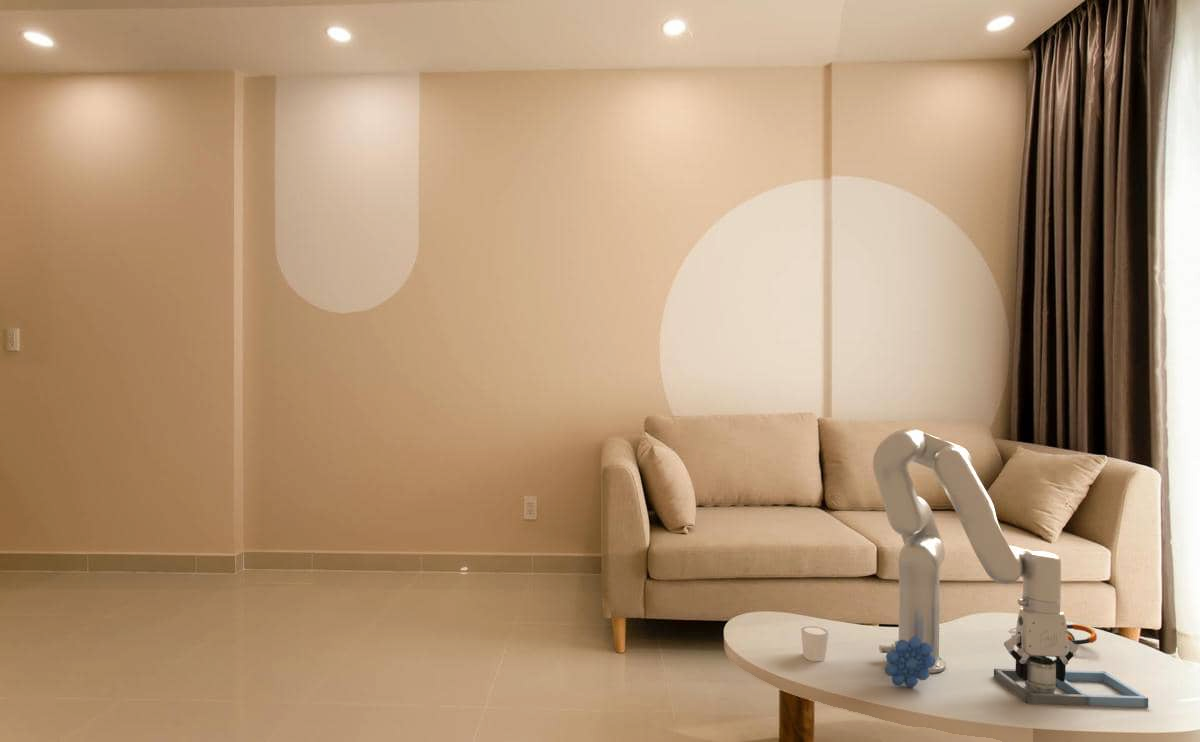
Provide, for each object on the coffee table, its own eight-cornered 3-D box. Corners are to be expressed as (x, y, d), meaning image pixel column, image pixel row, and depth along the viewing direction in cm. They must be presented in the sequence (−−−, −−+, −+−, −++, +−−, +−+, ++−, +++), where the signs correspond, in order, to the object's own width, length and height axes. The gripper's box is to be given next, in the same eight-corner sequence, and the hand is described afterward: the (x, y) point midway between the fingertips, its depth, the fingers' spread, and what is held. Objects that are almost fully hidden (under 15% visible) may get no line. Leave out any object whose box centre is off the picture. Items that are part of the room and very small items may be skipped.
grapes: (926, 679, 170) (927, 630, 170) (939, 692, 163) (940, 641, 163) (878, 678, 170) (879, 628, 170) (888, 690, 163) (889, 639, 163)
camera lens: (1035, 682, 169) (1036, 650, 169) (1061, 694, 163) (1062, 660, 163) (1018, 687, 166) (1018, 654, 166) (1044, 698, 161) (1044, 664, 161)
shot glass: (799, 660, 180) (799, 633, 180) (802, 650, 186) (802, 624, 186) (827, 664, 177) (827, 637, 177) (829, 654, 184) (829, 628, 184)
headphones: (1003, 620, 204) (1079, 611, 200) (1007, 638, 204) (1083, 630, 199) (1022, 642, 188) (1105, 633, 183) (1026, 661, 188) (1110, 653, 183)
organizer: (1027, 703, 158) (1027, 695, 158) (993, 676, 172) (993, 668, 172) (1148, 707, 157) (1148, 698, 157) (1104, 679, 171) (1104, 671, 171)
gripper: (1013, 609, 161) (1012, 685, 161) (1089, 611, 161) (1088, 686, 161) (995, 598, 169) (994, 671, 169) (1068, 600, 168) (1067, 672, 168)
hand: (1040, 678), depth 165 cm, fingers open, 8 cm apart
